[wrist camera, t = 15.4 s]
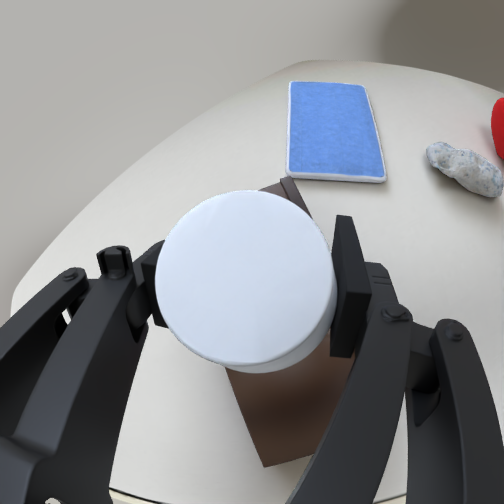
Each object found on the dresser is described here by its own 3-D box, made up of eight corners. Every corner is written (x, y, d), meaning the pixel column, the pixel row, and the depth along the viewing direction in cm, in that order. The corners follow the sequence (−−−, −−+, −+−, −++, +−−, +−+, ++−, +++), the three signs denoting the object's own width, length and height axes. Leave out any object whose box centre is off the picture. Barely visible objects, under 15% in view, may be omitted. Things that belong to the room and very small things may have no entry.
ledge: (379, 412, 22) (393, 423, 18) (268, 452, 23) (263, 470, 18) (291, 197, 31) (290, 174, 27) (194, 235, 32) (179, 218, 28)
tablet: (288, 85, 38) (288, 79, 37) (364, 89, 36) (365, 83, 35) (285, 180, 32) (284, 174, 31) (386, 186, 30) (389, 180, 29)
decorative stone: (489, 170, 28) (504, 152, 23) (497, 208, 26) (515, 191, 21) (421, 146, 31) (432, 123, 26) (425, 184, 29) (440, 162, 24)
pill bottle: (230, 364, 15) (140, 387, 6) (221, 273, 17) (140, 194, 8) (327, 353, 15) (372, 369, 5) (313, 259, 17) (326, 158, 7)
